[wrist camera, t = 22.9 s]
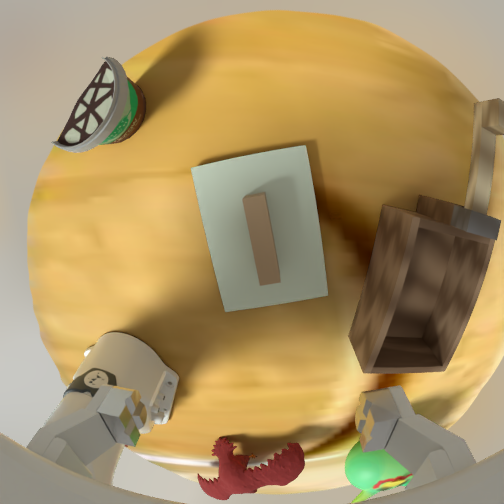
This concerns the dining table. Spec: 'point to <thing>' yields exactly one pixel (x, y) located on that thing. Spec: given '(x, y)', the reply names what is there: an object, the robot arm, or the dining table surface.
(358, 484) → the toy bird
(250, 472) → the red toy dinosaur
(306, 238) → the toolbox lid
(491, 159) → the wooden key
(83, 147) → the food container
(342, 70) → the dining table surface
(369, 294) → the toolbox
